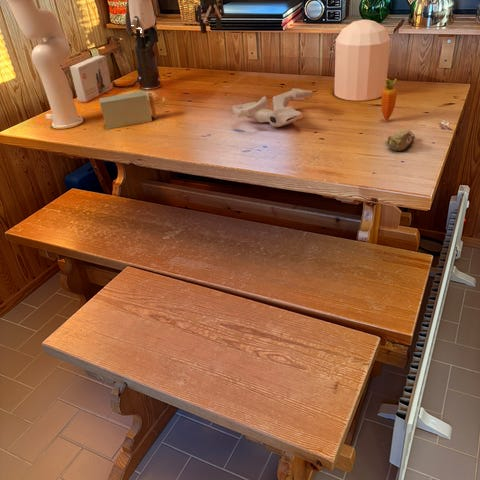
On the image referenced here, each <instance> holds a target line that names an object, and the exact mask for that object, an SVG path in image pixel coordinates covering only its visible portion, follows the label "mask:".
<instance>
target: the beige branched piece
mask: <svg viewBox="0 0 480 480" xmlns="http://www.w3.org/2000/svg"><path fill="white" fill-rule="evenodd" d="M313 93H314V92H313V91H312V90H307V89H302V88H292V89H291V90H289V91H286V92H283V93H281V94H277V95H275V96H272V102H271V103H272V107H273V109H272V110H271V109H266V108H265V107H267V106H268V98H267V96H266V95H264V96H262V97H261V98H260V99H259V100H258V101H257V102H256V101H251V102H246V103H240V104H234V105H232V106H231V107H232V108H231V109H232V112H233V113H234V115H235V116H237V118H244V117H246V118H248V119H252V120H257V122H259V123H269V124H270V126H272V127H274V128H280V127H284V126H287V125H290V124H294V123H296V121H298V120H301V119H302V112H301V111H300V110H297V109H295V108H294V107H291V106H288V105H289V103H290V102H292V101H299V100H308V101H310V100H311V99H312V97H313Z"/></svg>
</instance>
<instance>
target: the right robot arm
mask: <svg viewBox="0 0 480 480" xmlns="http://www.w3.org/2000/svg"><path fill="white" fill-rule="evenodd" d="M125 9H126V10H125V19H124V23H125V29H126V32H127V33H128V35H129V36H131V37H133V38H136V37H135V36H134V33H133V30H132V28H131V19H130V12H129V0H126V8H125ZM193 10H194V21H195V22H196V23H199V26H200V32H201V33H202V34H207V33H208V31H207V24H206V23H207V22H206V21H207V19H208V18H209V16H212V15H213V16H214V18H215V20H214V21H215V28H216V29H217V30H221V29H222V17H224V16H225V7H224V1H223V0H199V4H194V6H193ZM148 31H150V30H149V29H145V30H144V33H143V36H144V37H145V42H146V49H138V47H137V42H135V43H134V45H133V50H134V54H135V59H136V64H137V67H136V71H137V72H136V73H137V77H136V79H135V81H134V82H133V83H132V84H129V85H116V84H115V83H116V82H115V81H114V80H110V81H111V84H112V87H113V88H121V89H125V88H132V87H134V86H135V85H136V84H137V85H139V87H140V89H142V90H143V91H151V90H152V91H153V90H157V89H159V88H161V87H162V84H161V76H160V73H159V72H160V71H159V67H158V66H159V65H158V62H157V61H158V60H157V55H156V50H155V42H153V43H151V42H150V38H149V33H148ZM139 32H141V31H139Z"/></svg>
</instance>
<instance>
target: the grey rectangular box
mask: <svg viewBox="0 0 480 480" xmlns="http://www.w3.org/2000/svg"><path fill="white" fill-rule="evenodd" d="M146 91H147V90H143V91H136V92H130V93H123V94H117V95H112V96H105V97H99V98H98V99H99V105H100V109H101V112H102V117H103V121H104V124H105V125H104V126H105V128H106V130H109V129H110V130H111V129H116V128H122V127H127V126H133V125H137V124H143V123H150V122H153V118H152V111H151V106H150V101H149V96H148V93H147V92H146Z"/></svg>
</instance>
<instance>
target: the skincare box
mask: <svg viewBox="0 0 480 480" xmlns="http://www.w3.org/2000/svg"><path fill="white" fill-rule="evenodd" d="M69 70H70V74H71V78H72V82H73V86H74V90H75V94H76V98H77V102H81V103H82V102H84V103H87V102H89V101H91V100H93V99H95V98H97V97H100V96H101V95H103V94H105V93H107V92H108V91H110V90H112V89H113V84H112V82H111V81H112V80H111V76H110V72H109V71H110V70H109V66H108V62H107V57H106V55H100V54H99V55H95V56H92V57H90V58H87V59H85V60H83V61H80V62H78V63H75V64H73V65H71V66H69Z"/></svg>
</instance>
